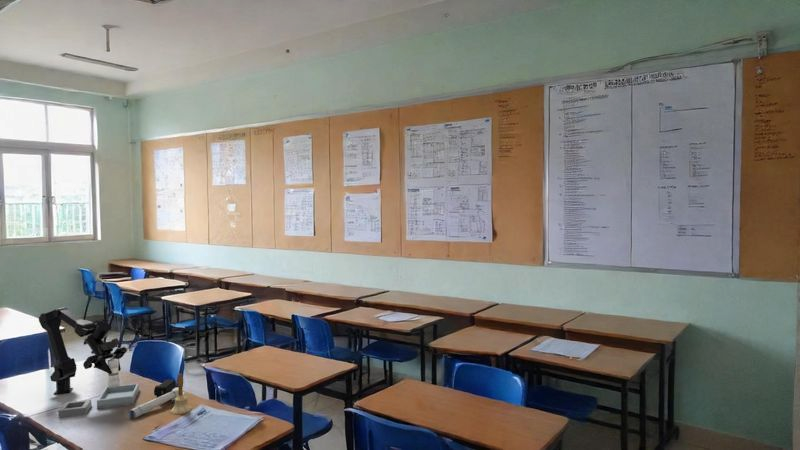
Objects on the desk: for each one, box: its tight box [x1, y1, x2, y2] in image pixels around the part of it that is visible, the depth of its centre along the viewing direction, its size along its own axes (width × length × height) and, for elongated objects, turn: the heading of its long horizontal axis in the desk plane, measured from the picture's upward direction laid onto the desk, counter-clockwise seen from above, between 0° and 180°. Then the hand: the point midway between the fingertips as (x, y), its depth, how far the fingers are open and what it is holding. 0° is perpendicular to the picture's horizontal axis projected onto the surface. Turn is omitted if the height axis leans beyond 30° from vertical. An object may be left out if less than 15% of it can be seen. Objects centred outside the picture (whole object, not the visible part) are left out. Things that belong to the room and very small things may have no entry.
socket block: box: [57, 399, 92, 419], centre depth 221 cm, size 10×10×3 cm
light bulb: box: [107, 358, 120, 388], centre depth 233 cm, size 4×4×12 cm
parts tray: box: [96, 383, 140, 409], centre depth 235 cm, size 18×14×4 cm
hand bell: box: [170, 373, 192, 415], centre depth 222 cm, size 8×8×16 cm
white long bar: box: [128, 386, 185, 419], centre depth 224 cm, size 5×7×25 cm
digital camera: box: [153, 379, 176, 398], centre depth 236 cm, size 10×5×7 cm, turn 2°
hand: (115, 371), depth 232 cm, fingers closed on light bulb, 4 cm apart
